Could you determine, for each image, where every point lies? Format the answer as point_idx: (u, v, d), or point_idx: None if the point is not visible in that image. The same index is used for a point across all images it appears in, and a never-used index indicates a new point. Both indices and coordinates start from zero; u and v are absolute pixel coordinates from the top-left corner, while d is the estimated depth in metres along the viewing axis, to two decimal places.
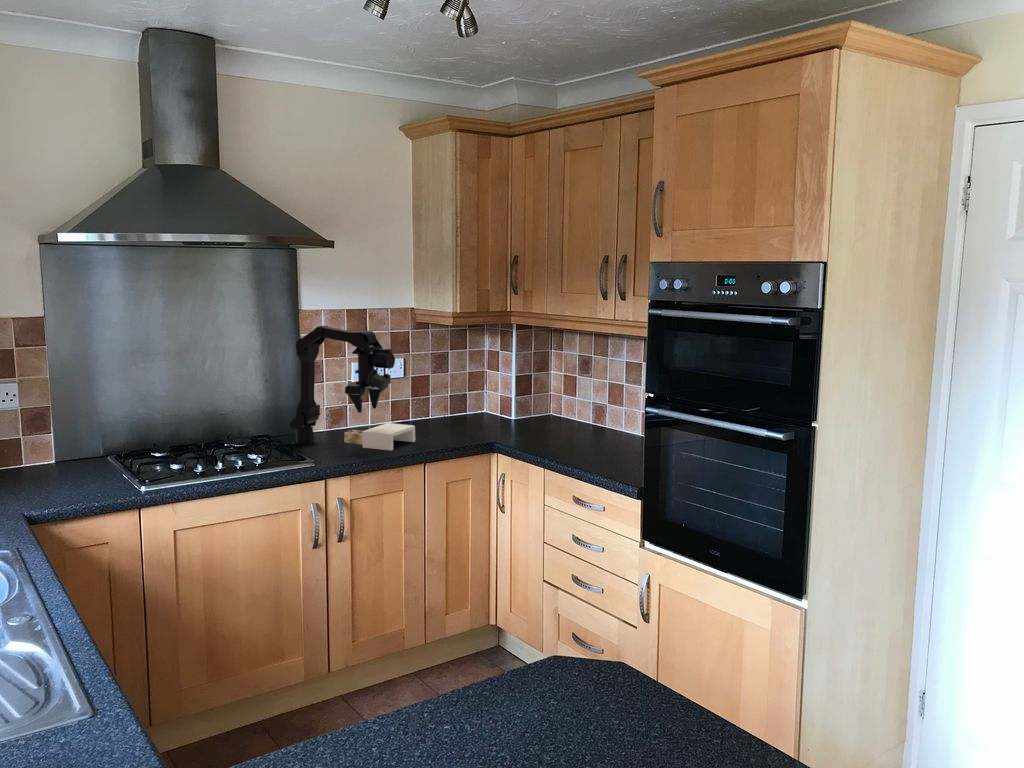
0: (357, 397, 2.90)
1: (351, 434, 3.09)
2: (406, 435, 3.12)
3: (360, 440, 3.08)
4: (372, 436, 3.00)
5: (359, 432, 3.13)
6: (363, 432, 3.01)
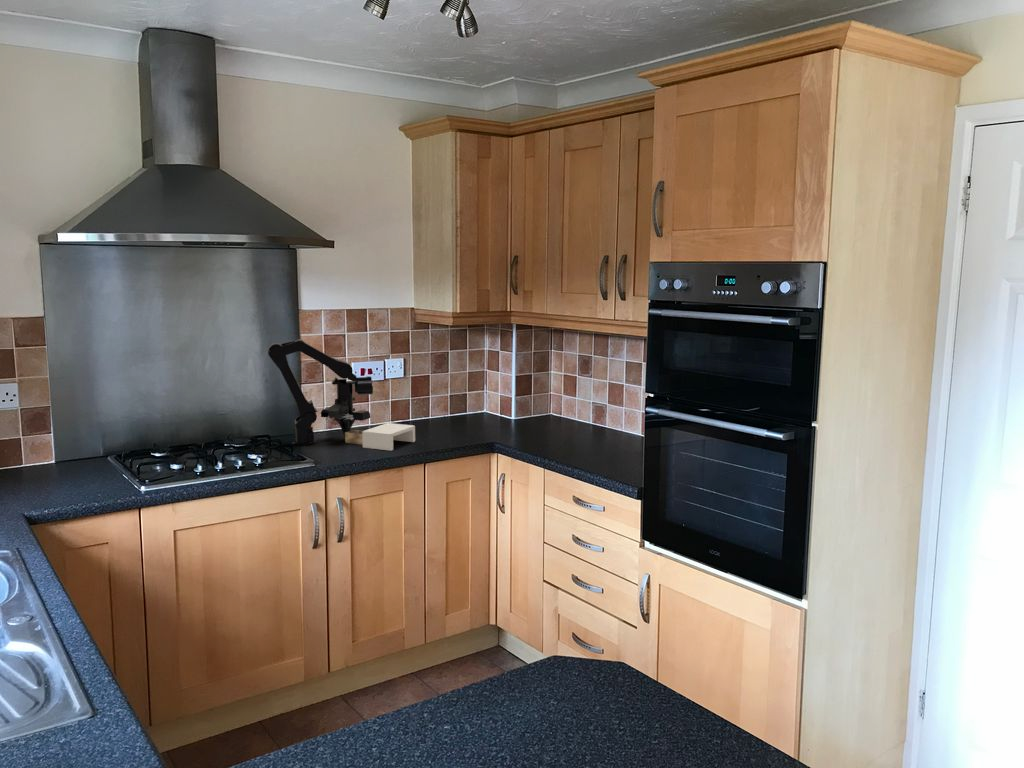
0: None
1: (352, 434, 3.09)
2: (406, 435, 3.12)
3: (360, 440, 3.08)
4: (372, 436, 3.00)
5: (360, 432, 3.13)
6: (363, 432, 3.01)
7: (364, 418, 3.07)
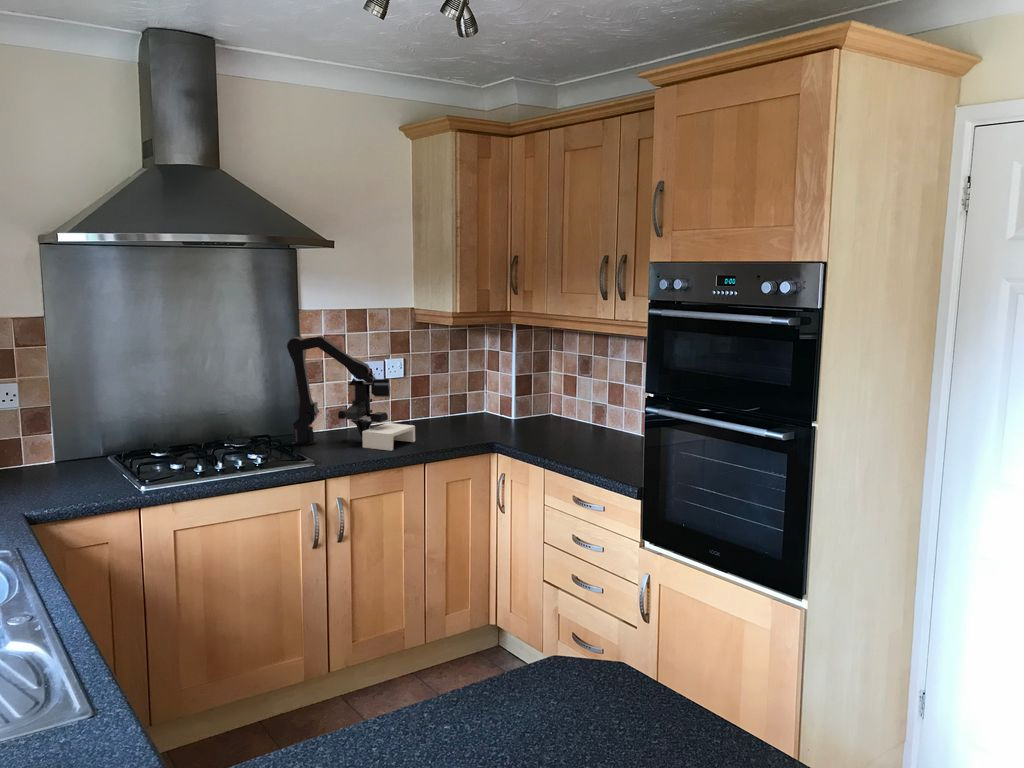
0: None
1: None
2: (406, 435, 3.12)
3: None
4: (372, 436, 3.00)
5: None
6: (363, 432, 3.01)
7: (382, 420, 3.04)
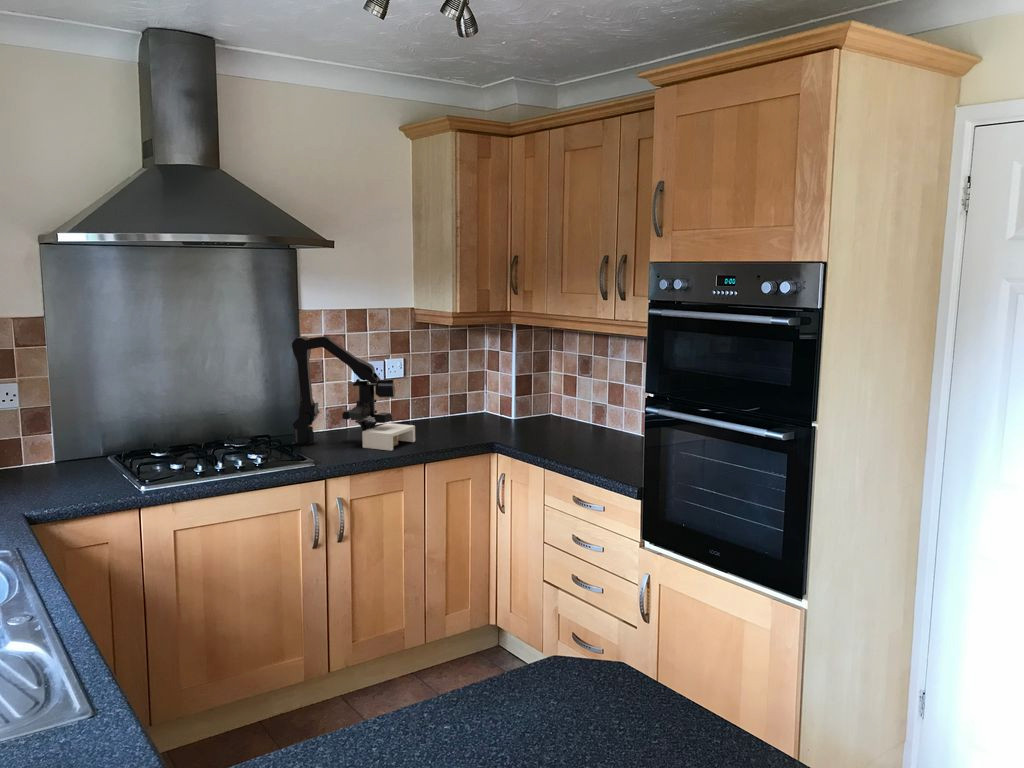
0: None
1: None
2: (406, 435, 3.12)
3: None
4: (372, 436, 3.00)
5: None
6: (363, 432, 3.01)
7: (386, 420, 3.03)
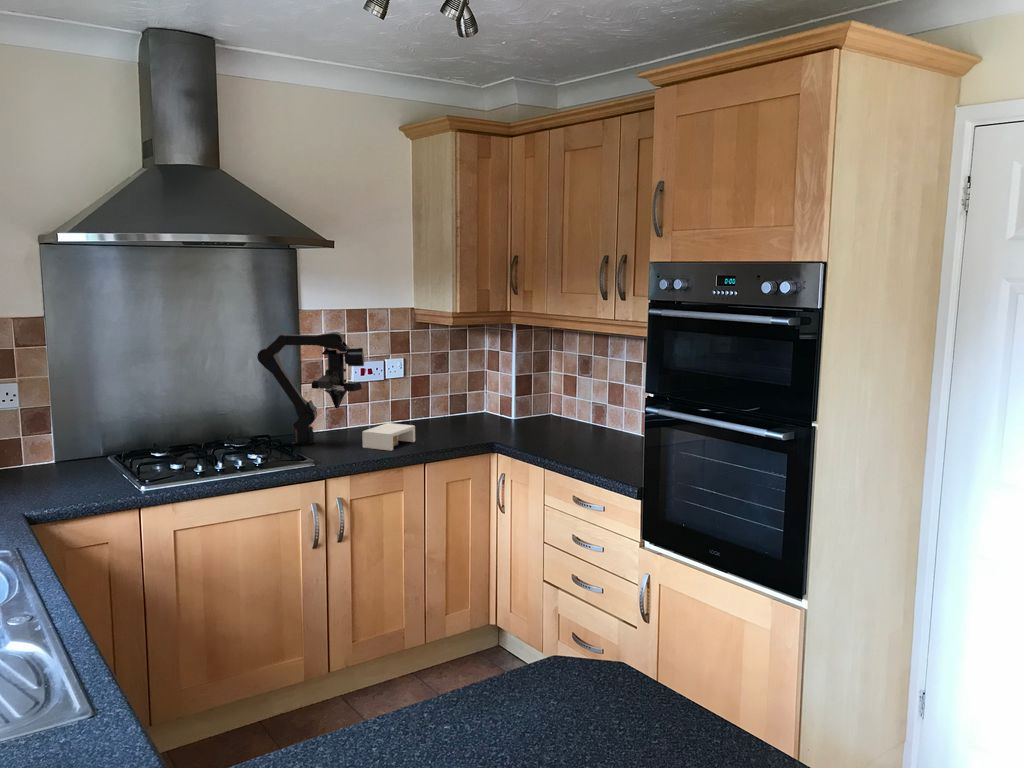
0: None
1: None
2: (406, 435, 3.12)
3: None
4: (372, 436, 3.00)
5: None
6: (363, 432, 3.01)
7: (355, 389, 3.02)
